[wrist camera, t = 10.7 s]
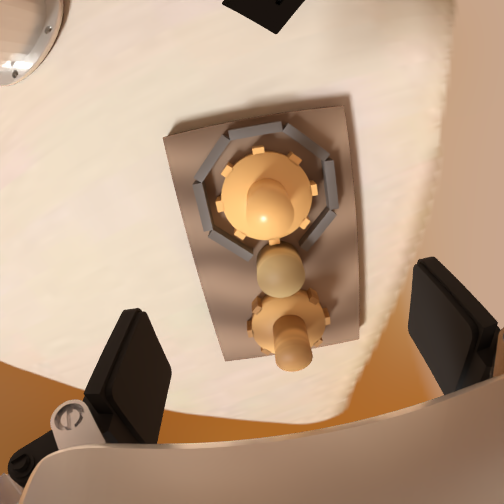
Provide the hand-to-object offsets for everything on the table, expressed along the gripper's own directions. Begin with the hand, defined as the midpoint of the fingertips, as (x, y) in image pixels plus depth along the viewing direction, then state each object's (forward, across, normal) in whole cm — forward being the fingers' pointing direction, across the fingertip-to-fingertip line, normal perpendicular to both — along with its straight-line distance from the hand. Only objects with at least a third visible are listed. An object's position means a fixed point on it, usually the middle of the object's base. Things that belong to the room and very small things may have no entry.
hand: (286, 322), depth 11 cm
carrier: (+19, 0, +6) cm, 20 cm away
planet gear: (+18, 0, 0) cm, 18 cm away
